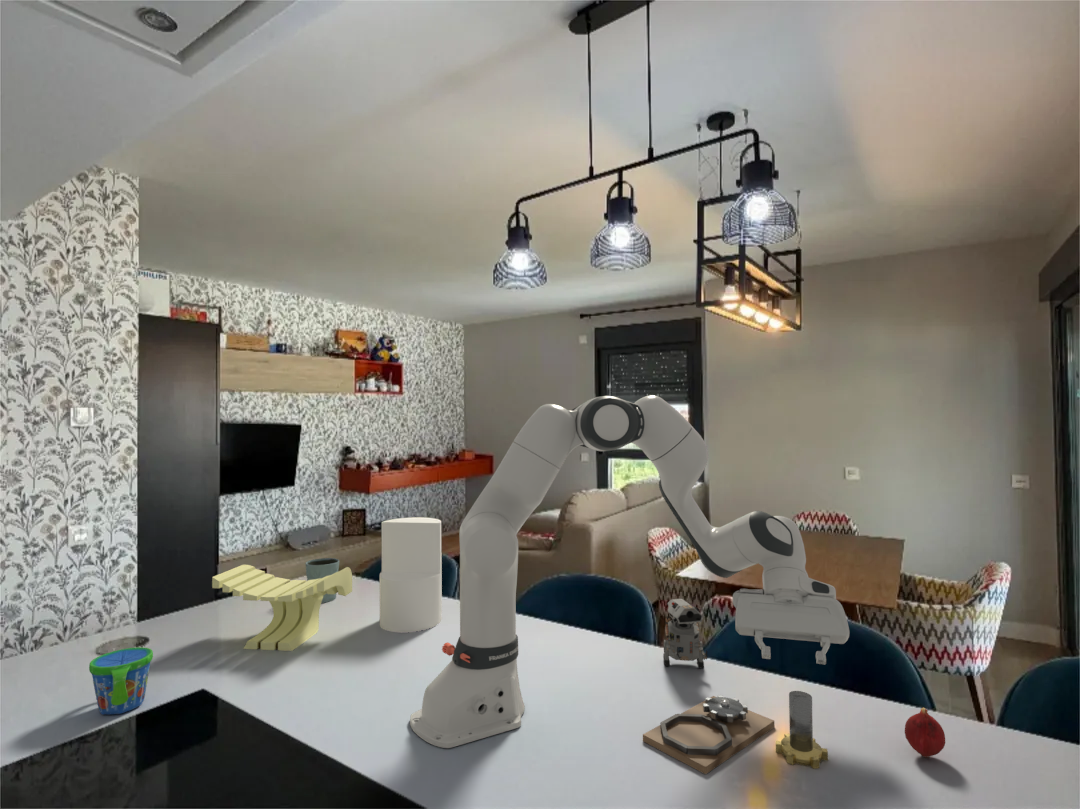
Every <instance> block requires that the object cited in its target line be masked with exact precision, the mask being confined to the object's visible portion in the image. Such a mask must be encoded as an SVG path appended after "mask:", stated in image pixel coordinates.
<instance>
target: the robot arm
mask: <svg viewBox="0 0 1080 809" xmlns="http://www.w3.org/2000/svg"><path fill="white" fill-rule="evenodd" d="M519 430H520V431H519V432H518V433H517V435H516V436H515V437H514V440H513V441H512V443H511V445H510V446H509V448H508V449H507V451H506V453H505V455H504V457H503V458H502V460H501V462H500V463H499V464H498V466H497V468H496V470H495V471H494V473H493V475H492V476H491V478H490V479H489V481H488V483H487V484H486V485H485V487H484V488H483V490H482V491H481V492H480V494H479V496H478V497H477V499H476V500H475V501H474V503H473V504H472V506H471V508H469V511H468V512H467V513H466V515H465V517H464V518H463V520H462V522H461V524H460V528H459V532H458V533H459V535H458V536H459V637H458V640H457V642H456V644H455V645H453V644H451V643H450V642H445V643H444V644H443V645H442V646H441V648H442V649H441V650H442V653H444V654H446V655H447V656H449V657H450V656H451V657H452V659H451V661H450V662H449V663H448V664H447V665H446V667H444V668H443V670H442V671H441V672H440V673H438V674H437V676H436V677H435V678H434V679H433V680H432V681H431V682H430V683H429V684H428V685H427V687H426V689H425V690H424V694H423V698H422V704H421V705H422V706H421V708H420V709H418V710H417V711H415V712H413V713H412V714H411V715H410V718H409V726H410V728H411V730H412V731H413V732H414V733H415V734H416V735H417V736H418V737H420V738H421V740H422V741H425V742H427V743H428V744H431V745H432V746H435V747H438V748H444V749H451V748H455V747H459V746H461V745H465V744H468V743H471V742H474V741H479V740H482V739H484V738H488V737H492V736H495V735H498V734H502V733H505V732H508V731H511V730H515V729H518V728H520V727H521V726H522V720H521V718H522V716H523V714H524V713H525V709H526V706H525V702H524V699H523V695H522V691H521V687H520V681H519V680H520V678H519V674H518V673H519V672H518V660H517V659H518V656H519V637H518V635H517V634H516V633H517V620H516V619H517V618H516V617H517V616H516V615H517V614H516V613H517V611H516V604H517V603H516V600H517V599H516V598H517V596H516V595H517V594H516V593H517V586H518V585H517V583H518V566H519V565H518V564H519V539H518V537H517V534H518V533H519V531H521V528H522V526H524V524H525V522H526V521H527V520H528V518H530V516H531V515H532V513H533V512H534V511H535V510H536V509H537V507H539V506H540V505H541V503H542V502H543V500H544V498H545V496H546V495H547V492H548V491H549V489H550V488H551V486H552V485H553V483H554V480H556V478H557V475H558V474H559V472H560V471H561V469H562V467H563V465H564V464H565V461H566V459H567V458H568V456H569V455H570V454H571V452H572V451H573V450H574V449H576V448H577V447H579V446H580V447H584V448H587V449H591V450H593V451H596V452H597V451H598V452H609V451H615V450H618V449H621V448H623V447H625V446H626V445H627V446H628V445H629V444H633V445H635V446H637V448H639V449H641V451H642V452H643V453H644V455H645V456H646V457H647V458H648V459H649V461H650V462H651V463H652V464H653V466H654V467H655V469H656V471H657V473H658V476H659V478H660V479H659V481H658V487H659V490H660V493H661V496H662V498H663V500H664V501H665V503H666V505H667V506H668V508H669V509H670V511H671V512H672V514H673V515H674V517H675V519H676V521H677V522H678V523H679V525H680V526H681V528H682V530H683V531H684V532H685V535H686V536H687V537H688V539H689V540H690V541H691V543H692V544H693V546H694V548H695V551H696V554H697V555H698V556H697V557H698V558H699V560H700V562H701V564H702V565H703V567H704V568H705V569H706V570H707V571H709V572H710V573H712V574H713V575H716V576H717V577H720V578H723V579H725V578H726V579H727V578H730V577H732V576H735V575H736V574H737V573H739V572H742V571H743V570H744V569H747V568H750V567H753V566H755V565H760V566H762V568H763V570H762V576H761V577H762V589H758V588H757V589H756V588H755V589H748V588H740V589H739V590H736V591H734V592H733V594H732V604H733V607H734V608H735V618H734V619H735V624H734V625H735V627H734V628H735V629H734V630H735V631H736V632H737V633H738V634H739V636H740V635H741V636H750V637H754V642H755V643H756V645H757V646H758V648H759V649H760V650H761V658H762V659H766V660H771V658H772V656H771V654H772V653H771V646H769V645H768V646H767V645H766V644H765V643H764V641H763V638H769V639H770V638H773V639H783V640H784V639H786V640H794V641H803V642H804V641H807V642H817V643H820V647H821V648H822V649H821V650H817V651H816V652H815V660H816V664H817V665H818V664H819V665H826V664H827V656H826V654H827V652H828V651H829V649H830V646H831V644H839V645H844V644H845V643H846V642H847V641H848V640H849V638H850V627H849V623H848V618H847V616H846V615H847V614H846V612H845V610H844V607H843V604H841V602H840V601H839V600H837V590H836V588H835V586H833V585H831V584H829V583H825V582H822V581H819V580H816V579H813V578H811V577H809V574H808V572H807V570H806V563H807V556H806V549H805V545H804V541H803V536H802V534H801V531H800V529H799V527H798V525H797V524H796V522H795V521H794V520H793V519H791V518H789V517H786V516H783V515H772V514H770V513H767V512H765V511H760V510H754V511H751V512H749V513H746V514H745V515H743V516H739V517H738V518H736V519H734V520H733V521H731V522H728V523H726V524H724V525H722V526H719V527H717V526H714V525H711V523H710V522H709V521H708V519H707V518H706V516H705V514H704V512H703V511H702V510H701V508H700V506H699V505H698V503H697V502H696V500H695V498H694V497H693V488H694V486H695V484H696V483H697V482H698V481H699V479H700V477H701V476H702V475H703V473H704V470H705V469H706V466H707V463H708V458H709V451H708V446H707V443H706V442H705V440H704V439H703V437H702V435H701V434H700V433H699V432H698V431H697V430H696V429H695V428H694V426H692V424H691V423H690V422H689V420H687V419H686V418H685V417H684V415H682V414H681V413H680V412H679V411H678V410H677V409H676V408H675V407H674V406H672V405H671V404H670V403H668V402H667V401H666V400H664V398H662V397H660V396H658V395H654V394H652V395H651V394H649V395H646V396H643V397H641V398H639V399H637V400H636V401H634V403H633V402H631V401H629V400H625V399H623V398H621V397H617V396H612V395H602V396H596V397H592V398H590V399H588V400H586V401H584V402H583V403H581V404H580V405H578V406H575V407H574V408H572V409H571V410H569V409H567V408H565V407H563V406H561V405H558V404H554V403H544V404H543V405H541V406H539V407H538V408H537V409H536V410H535V411H534V412H533V413H532V415H531V416H530V417H529V418H528V419H527V420H526V422H525V423H524V425H523V426H522V427H521V428H520V429H519Z"/></svg>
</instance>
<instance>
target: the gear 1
mask: <svg viewBox="0 0 1080 809" xmlns="http://www.w3.org/2000/svg"><path fill="white" fill-rule="evenodd" d="M704 701H705V704H703V711H704V712H709V714H711V718H713V719H715V720H716V719H718V720H720V721H723V722H733V720H738V719H741V720H745V719H746V713H748V710H749V708H748V706H747V704H742V703H741V702H740V699H738V698H736V697H734V698H730V697H724V695H721V694H720V695H719V694H718V695H717V696H715V698H710V697H709V696H708V697H706V698H705V699H704Z"/></svg>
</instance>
